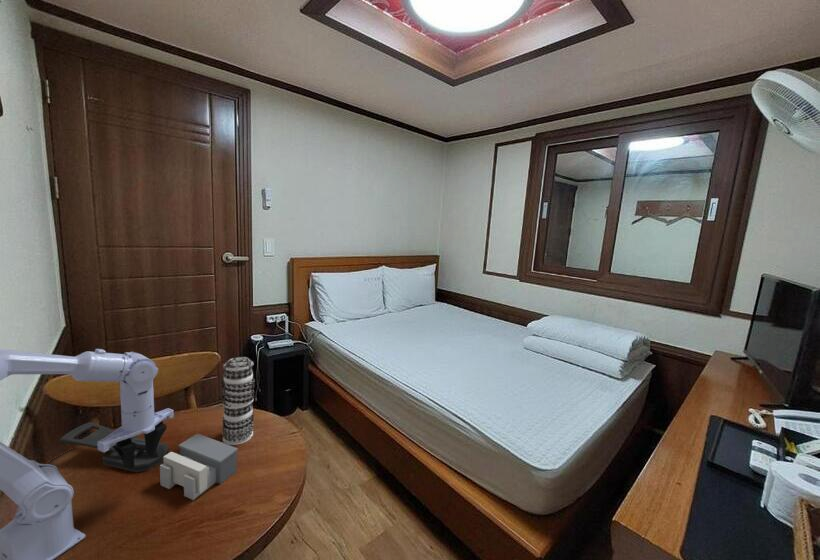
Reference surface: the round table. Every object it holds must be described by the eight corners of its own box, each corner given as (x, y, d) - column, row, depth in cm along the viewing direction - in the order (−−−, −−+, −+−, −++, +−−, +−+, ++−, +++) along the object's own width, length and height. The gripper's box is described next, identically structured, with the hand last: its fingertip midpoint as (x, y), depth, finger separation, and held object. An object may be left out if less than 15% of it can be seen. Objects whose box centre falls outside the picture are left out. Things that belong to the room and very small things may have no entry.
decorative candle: (213, 443, 97) (213, 364, 93) (234, 425, 106) (234, 352, 103) (242, 448, 96) (243, 368, 92) (260, 429, 105) (261, 356, 101)
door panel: (207, 487, 80) (207, 466, 79) (199, 493, 78) (199, 471, 77) (172, 472, 84) (171, 451, 83) (164, 478, 82) (163, 456, 81)
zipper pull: (90, 419, 93) (174, 429, 92) (91, 440, 94) (174, 451, 93) (54, 439, 84) (147, 451, 83) (56, 462, 85) (148, 474, 84)
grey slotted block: (198, 502, 77) (198, 477, 76) (155, 483, 82) (154, 459, 81) (237, 470, 88) (237, 448, 87) (197, 454, 92) (197, 433, 91)
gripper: (111, 428, 66) (115, 488, 68) (182, 396, 80) (183, 446, 82) (89, 419, 68) (93, 477, 70) (161, 389, 82) (163, 438, 84)
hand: (140, 460), depth 76 cm, fingers open, 4 cm apart
